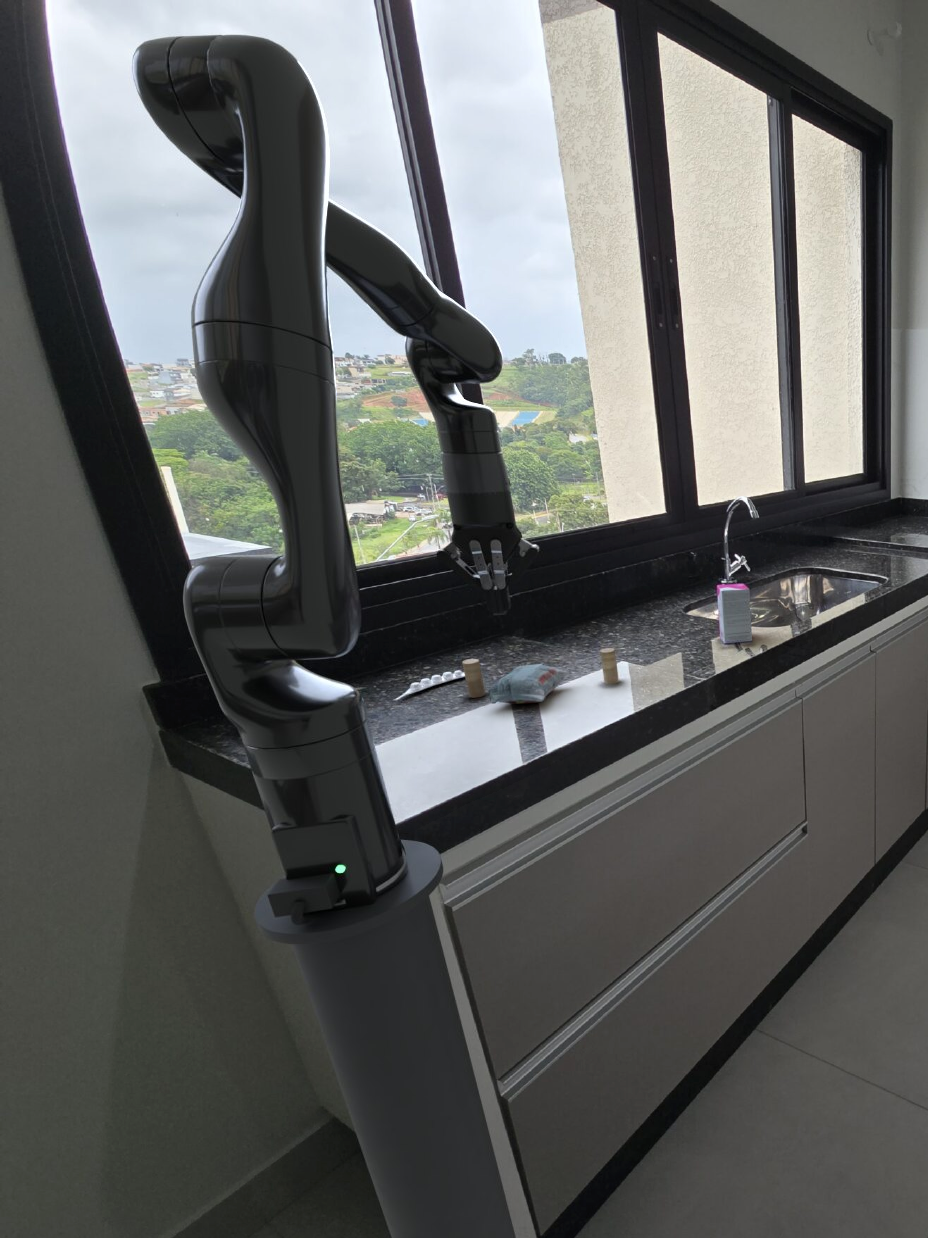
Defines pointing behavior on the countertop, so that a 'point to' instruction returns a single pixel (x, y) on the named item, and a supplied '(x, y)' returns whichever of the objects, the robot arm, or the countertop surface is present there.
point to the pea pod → (432, 682)
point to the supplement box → (734, 613)
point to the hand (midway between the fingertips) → (500, 613)
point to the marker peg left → (473, 678)
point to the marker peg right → (609, 666)
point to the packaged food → (527, 684)
